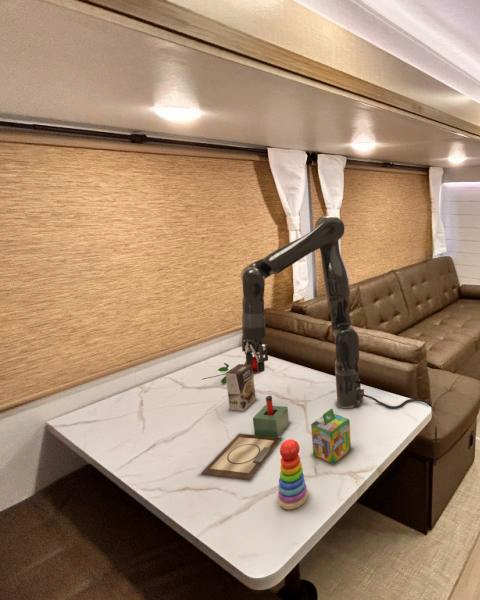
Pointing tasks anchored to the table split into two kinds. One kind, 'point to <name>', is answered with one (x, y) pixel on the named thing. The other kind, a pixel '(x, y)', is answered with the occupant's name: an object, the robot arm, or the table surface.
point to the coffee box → (240, 387)
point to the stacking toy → (291, 477)
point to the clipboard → (242, 457)
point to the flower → (254, 366)
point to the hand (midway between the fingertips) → (255, 367)
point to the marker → (269, 405)
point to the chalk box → (331, 437)
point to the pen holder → (271, 421)
